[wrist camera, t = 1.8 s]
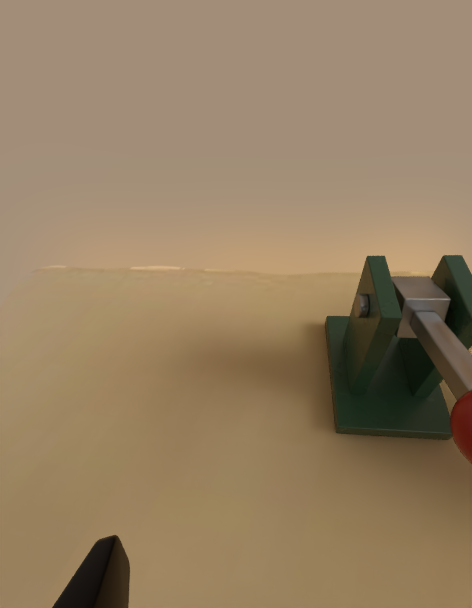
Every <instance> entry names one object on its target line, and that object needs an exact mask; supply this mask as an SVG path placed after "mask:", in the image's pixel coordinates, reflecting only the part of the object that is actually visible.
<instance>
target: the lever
mask: <svg viewBox="0 0 472 608" xmlns="http://www.w3.org/2000/svg"><path fill="white" fill-rule="evenodd" d="M391 279H392V283H393V286H394V290H395V293H396V297H397V300H398V303H399V307H400V310H401V314H402V320H401V322H400V324H399V326H398V328H397V330H396V332H395V336H396V337H397V338H418V340H419V341H420V343H421V345H422V346H423V348H424V349H425V351H426V352H427V354H428V355H429V357H430V359H431V360H432V362H433V363H434V365H435V366H436V368H437V369H438V371H439V373H440V374H441V376H442V377H443V379H444V380H445V382H446V384H447V385H448V387H449V388H450V390H451V391H452V393H453V394H454V396H455V398H456V399H457V402H456V403H455V405H454V407H453V409H452V412H451V416H450V428H451V433H452V437H453V439H454V441H455V444H456V445H457V447H458V449H459V450H460V452H461V453H462V454H463V456H464V457H465V458H466V459H467V460H468V461H469V462H470V463H472V355H471V354H470V352H469V351H468V350H467V349H466V348H465V346H464V345H463V344H462V343H461V341H460V340H459V339H458V338H457V337H456V335H455V334H454V333H453V332H452V331H451V329H450V328H449V327H448V326H447V325H446V323H445V322H444V321H445V318H446V315H447V311H448V308H449V304H450V301H451V299H450V298H449V297H448V296H447V295H446V294H445V292H444V291H443V290H442V289H441V288H440V287H439V286H438V285H437V284H436V283H435V282H434V281H433V280H432V279H431V278H430V277H391Z"/></svg>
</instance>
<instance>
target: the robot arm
mask: <svg viewBox="0 0 472 608" xmlns="http://www.w3.org/2000/svg"><path fill="white" fill-rule="evenodd" d="M129 580H130V565H129V560H128V557H127V555H126V553H125V550H124V548H123V546H122V543H121V541H120V539H119V537H118V536H116V535H113V536H109V537H105V538H102V539H99V540H98V541H97V542H96V543H95V544H94V546H93V547H92V549H91V550H90V552H89V553H88V555H87V556H86V558H85V559H84V561H83V562H82V564H81V565H80V567H79V568H78V570H77V571H76V573H75V574H74V576H73V577H72V579H71V580H70V582H69V583H68V585H67V586H66V588H65V589H64V591H63V592H62V594H61V595H60V597H59V598H58V600H57V601H56V603H55V604H54V606H53V607H52V608H128V603H129Z"/></svg>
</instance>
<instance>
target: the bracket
mask: <svg viewBox="0 0 472 608" xmlns="http://www.w3.org/2000/svg"><path fill="white" fill-rule="evenodd" d="M431 279H432V280H433V281H434V282H435V283H436V284H437V285H438V286H439V287H440V288H441V289H442V290H443V291H444V292H445V294H446V295H447V296H448V297H449V298H450V299H451V301H450V304H449V308H448V311H447V315H446V318H445V321H444V322H445V323H446V325H447V326H448V327H449V328H450V329H451V331H452V332H453V333H454V334H455V335H456V337H457V338H458V339H459V340H460V341H461V343H462V344H463V345H464V346H465V348H466V349H467V350H469V348H470V347H471V346H472V274H471V272H470V270H469V268H468V267H467V264H466V263H465V261H464V259H463V257H462V256H461V255H448V256H447V255H445V256H443V257H442V259H441V261H440V263H439V264H438V266H437V268H436V270H435V272H434V274H433V276H432V278H431ZM401 320H402V314H401V310H400V307H399V303H398V300H397V297H396V293H395V290H394V286H393V283H392V279H391V276H390V272H389V269H388V265H387V262H386V259H385V256H367V258H366V261H365V265H364V268H363V272H362V275H361V279H360V282H359V286H358V289H357V293H356V296H355V300H354V303H353V306H352V310H351V313H350V316H327V317H326V322H325V329H326V339H327V349H328V359H329V369H330V379H331V389H332V399H333V409H334V419H335V429H336V433H341V434H358V435H375V436H392V437H408V438H425V439H442V440H448V439H450V438H451V437H452V433H451V428H450V415H449V412H448V409H447V406H446V403H445V400H444V397H443V394H442V391H441V388H440V385H439V384H440V382H441V381H442V380H443V377H442V376H441V374H440V373H439V371H438V369H437V368H436V366H435V365H434V363H433V362H432V360H431V359H430V357H429V355H428V354H427V352H426V351H425V349H424V348H423V346H422V345H421V343H420V341H419V340H418V338H397V337H396V336H395V332H396V330H397V328H398V326H399V324H400V322H401Z"/></svg>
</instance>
